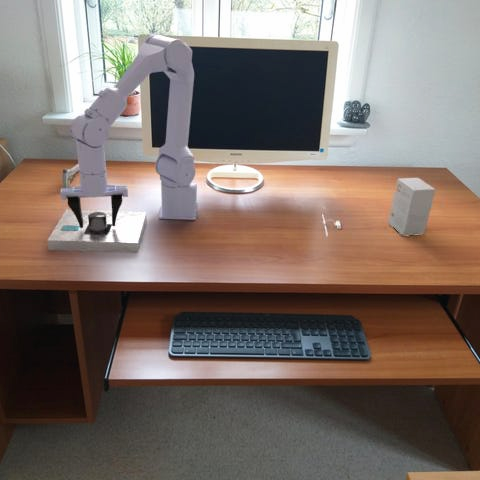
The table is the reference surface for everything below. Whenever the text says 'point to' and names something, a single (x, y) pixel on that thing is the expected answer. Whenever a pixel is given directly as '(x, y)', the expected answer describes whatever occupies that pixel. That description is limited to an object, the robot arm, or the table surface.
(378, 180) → the table surface
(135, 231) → the plate
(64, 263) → the table surface
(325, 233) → the picture light
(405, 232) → the small box
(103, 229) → the cylinder
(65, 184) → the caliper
